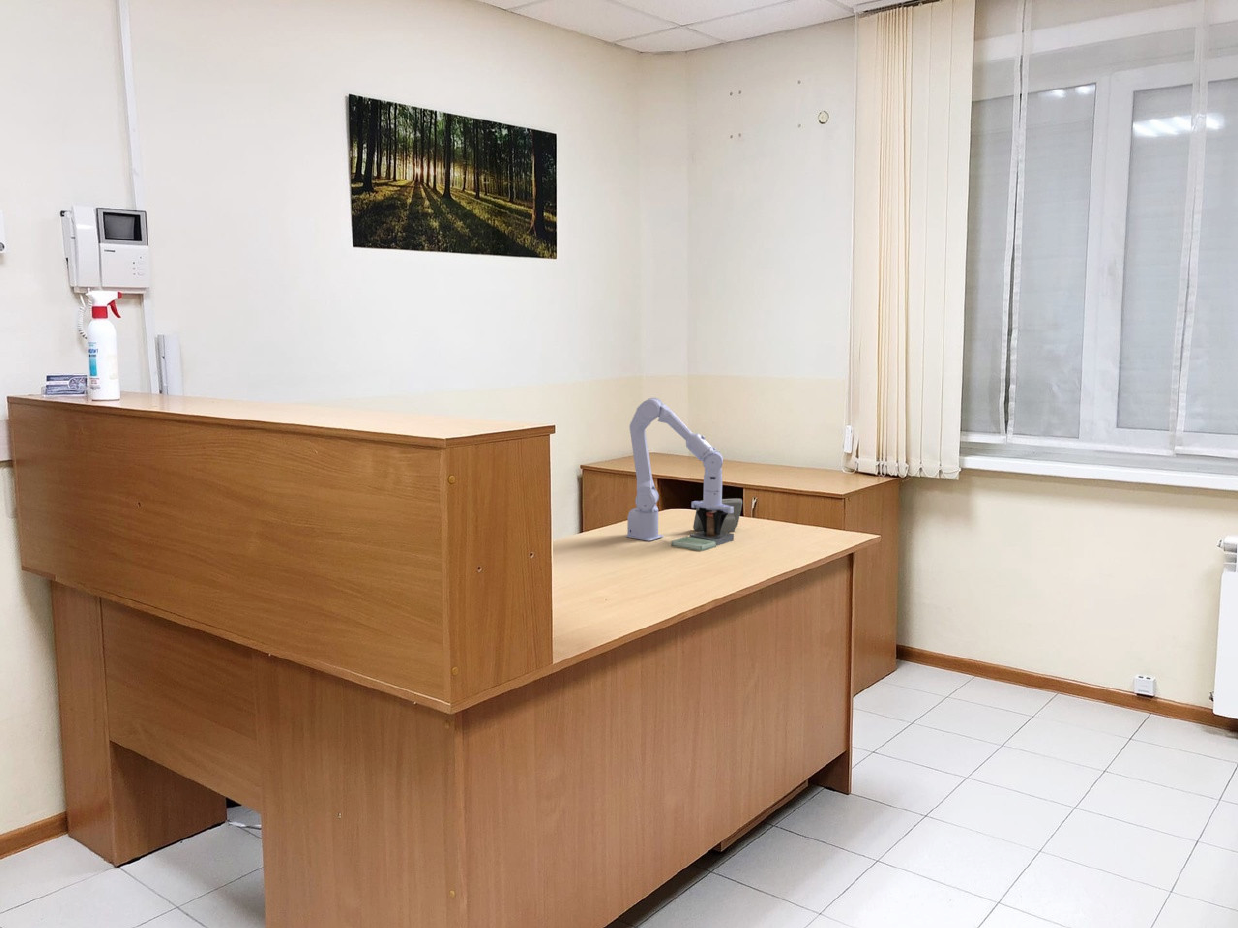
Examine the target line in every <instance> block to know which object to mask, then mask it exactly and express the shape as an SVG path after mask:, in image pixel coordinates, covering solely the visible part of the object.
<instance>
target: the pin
mask: <svg viewBox="0 0 1238 928" xmlns="http://www.w3.org/2000/svg"><path fill="white" fill-rule="evenodd" d="M713 513H714V512H707V513H706V516H707V535H708V536H717V535H716V534H715V533H714V517H713Z"/></svg>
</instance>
